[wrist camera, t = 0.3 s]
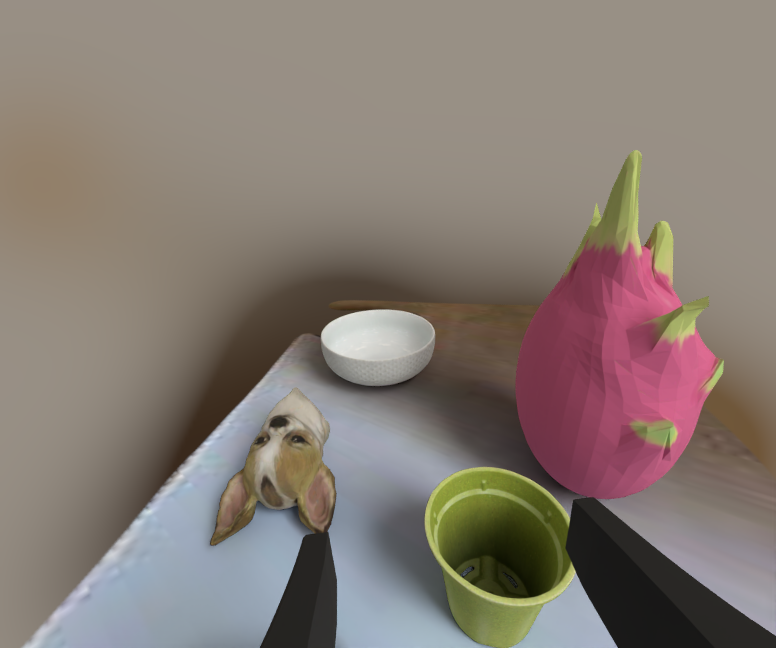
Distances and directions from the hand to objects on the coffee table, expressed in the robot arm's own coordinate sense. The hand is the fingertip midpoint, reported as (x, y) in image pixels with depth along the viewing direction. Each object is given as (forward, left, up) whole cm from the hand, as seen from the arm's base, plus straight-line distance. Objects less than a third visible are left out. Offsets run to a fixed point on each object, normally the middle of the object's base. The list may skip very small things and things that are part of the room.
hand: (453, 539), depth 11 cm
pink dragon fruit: (+18, -19, -21) cm, 33 cm away
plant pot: (+8, -6, -21) cm, 23 cm away
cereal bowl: (+41, -1, -21) cm, 46 cm away
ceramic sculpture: (+21, +10, -21) cm, 31 cm away
